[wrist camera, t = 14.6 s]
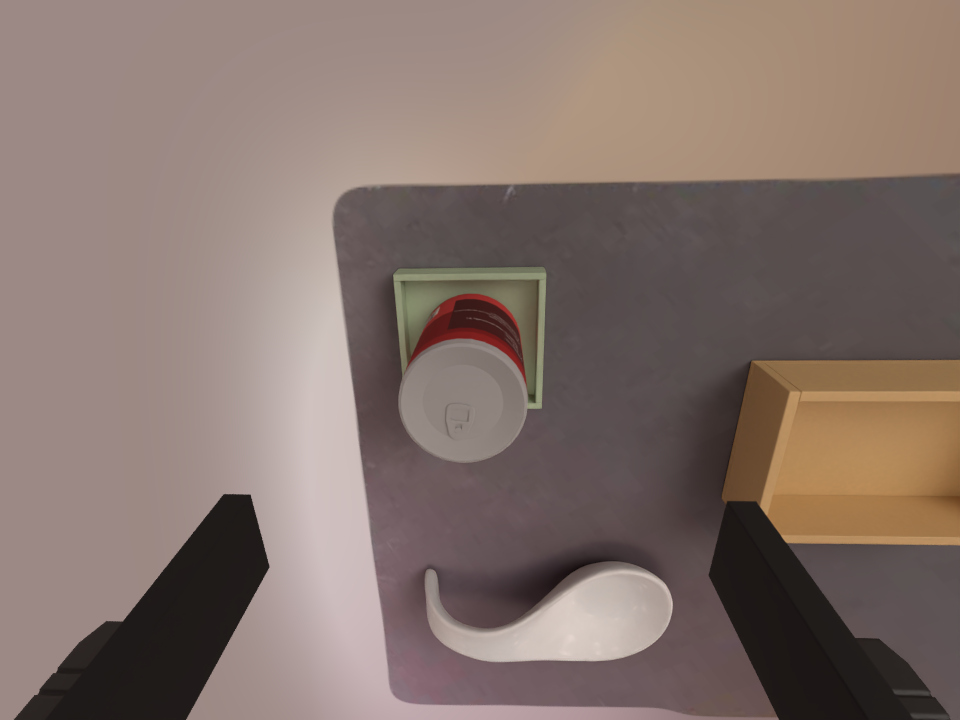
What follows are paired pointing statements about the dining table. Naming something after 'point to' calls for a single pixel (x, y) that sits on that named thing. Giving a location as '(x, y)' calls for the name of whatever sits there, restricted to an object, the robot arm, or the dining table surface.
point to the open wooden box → (851, 450)
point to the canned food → (465, 381)
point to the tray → (505, 284)
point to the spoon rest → (567, 618)
